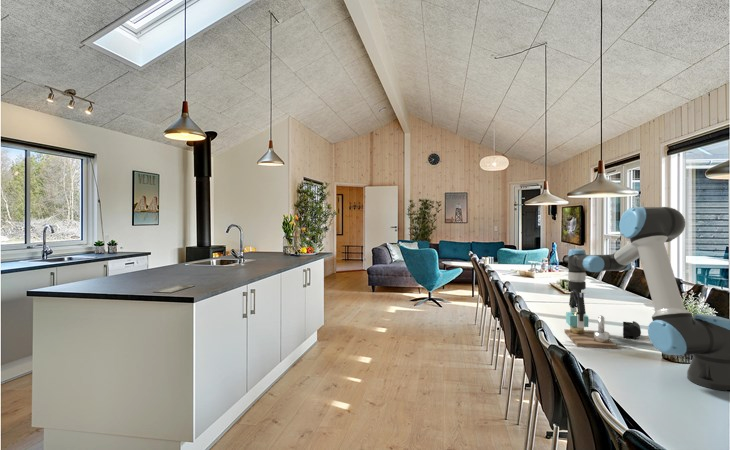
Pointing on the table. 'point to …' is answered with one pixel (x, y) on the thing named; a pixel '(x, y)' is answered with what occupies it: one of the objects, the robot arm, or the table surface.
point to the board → (588, 340)
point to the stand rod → (601, 332)
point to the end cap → (631, 330)
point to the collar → (575, 319)
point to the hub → (576, 329)
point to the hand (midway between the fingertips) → (577, 324)
